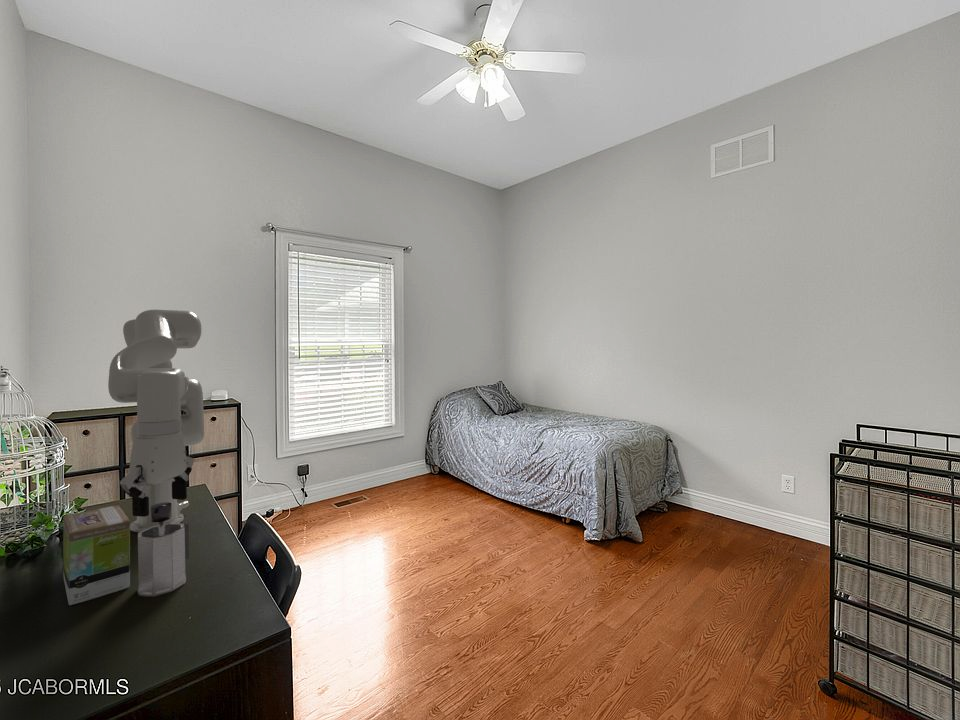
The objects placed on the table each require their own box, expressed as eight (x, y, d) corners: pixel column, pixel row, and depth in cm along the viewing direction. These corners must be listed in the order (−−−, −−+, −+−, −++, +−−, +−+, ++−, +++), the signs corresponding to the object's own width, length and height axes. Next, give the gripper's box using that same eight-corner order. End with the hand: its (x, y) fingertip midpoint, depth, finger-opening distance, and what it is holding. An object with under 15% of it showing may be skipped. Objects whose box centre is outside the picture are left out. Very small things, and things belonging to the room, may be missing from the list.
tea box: (132, 587, 93) (130, 519, 93) (67, 608, 86) (66, 533, 85) (120, 564, 103) (119, 502, 103) (62, 580, 96) (60, 514, 96)
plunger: (161, 559, 97) (160, 500, 96) (183, 561, 96) (182, 501, 96) (139, 572, 91) (138, 509, 91) (162, 573, 91) (161, 510, 90)
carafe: (170, 569, 101) (169, 518, 100) (203, 571, 100) (202, 519, 99) (127, 595, 90) (126, 537, 90) (163, 597, 89) (162, 539, 89)
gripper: (176, 420, 102) (178, 492, 103) (104, 436, 85) (106, 522, 86) (205, 421, 101) (207, 494, 102) (138, 437, 84) (140, 524, 85)
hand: (161, 507), depth 94 cm, fingers open, 9 cm apart
